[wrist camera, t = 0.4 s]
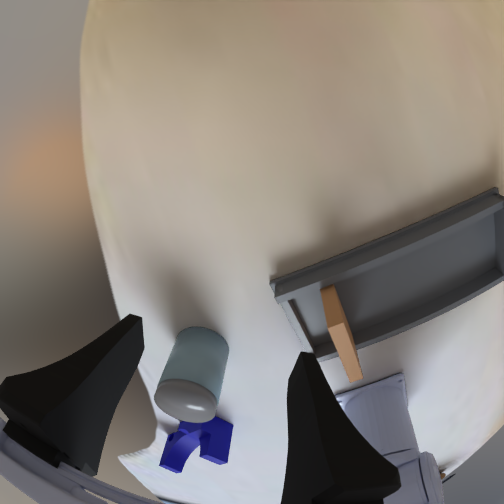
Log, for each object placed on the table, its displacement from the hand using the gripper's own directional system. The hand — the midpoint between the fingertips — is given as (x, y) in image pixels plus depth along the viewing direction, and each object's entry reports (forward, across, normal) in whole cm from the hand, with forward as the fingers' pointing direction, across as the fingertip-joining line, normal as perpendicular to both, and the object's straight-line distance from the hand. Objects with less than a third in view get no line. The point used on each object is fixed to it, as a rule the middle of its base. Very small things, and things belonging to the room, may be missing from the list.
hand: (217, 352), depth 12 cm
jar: (+10, +2, +10) cm, 14 cm away
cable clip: (+10, +2, +28) cm, 30 cm away
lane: (+10, -13, -1) cm, 16 cm away
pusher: (+9, -8, +3) cm, 12 cm away
